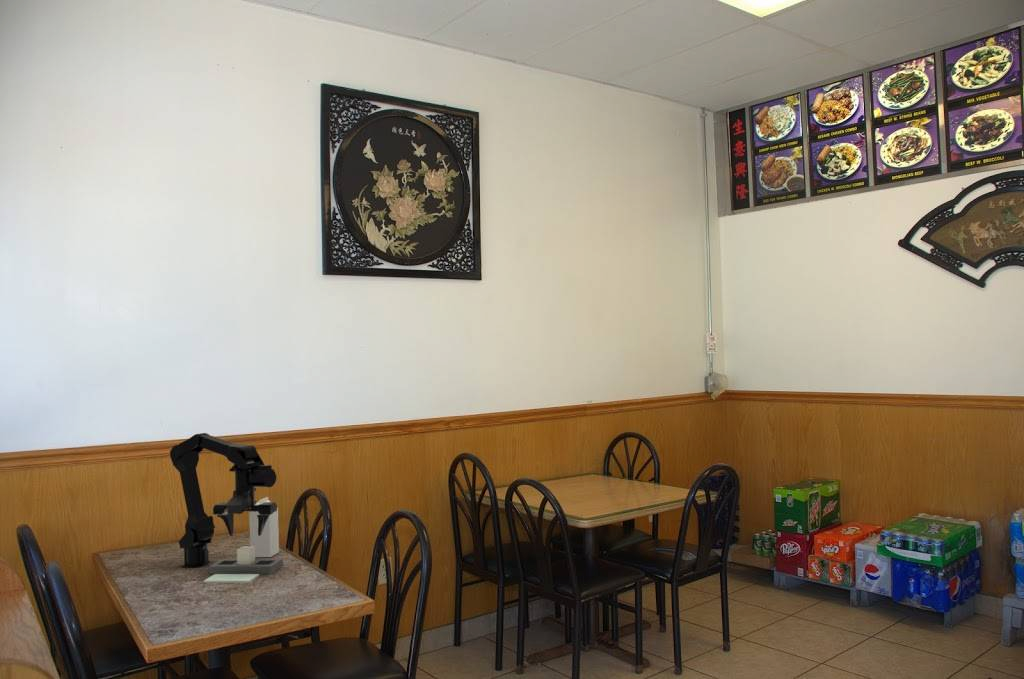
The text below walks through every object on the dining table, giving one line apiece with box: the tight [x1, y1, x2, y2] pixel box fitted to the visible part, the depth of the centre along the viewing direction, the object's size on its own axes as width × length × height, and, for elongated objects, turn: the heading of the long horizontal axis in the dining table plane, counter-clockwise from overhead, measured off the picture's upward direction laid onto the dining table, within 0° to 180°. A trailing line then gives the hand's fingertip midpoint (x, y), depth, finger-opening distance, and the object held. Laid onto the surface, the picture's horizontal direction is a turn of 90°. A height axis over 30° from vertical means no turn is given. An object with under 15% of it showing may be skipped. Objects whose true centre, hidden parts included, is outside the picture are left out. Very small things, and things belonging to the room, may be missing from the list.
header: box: [208, 558, 284, 575], centre depth 242 cm, size 20×9×2 cm, turn 85°
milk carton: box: [249, 496, 280, 558], centre depth 261 cm, size 7×7×19 cm
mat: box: [203, 574, 260, 584], centre depth 232 cm, size 14×7×1 cm, turn 84°
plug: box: [236, 545, 256, 565], centre depth 243 cm, size 4×4×7 cm
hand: (245, 535), depth 243 cm, fingers open, 9 cm apart
